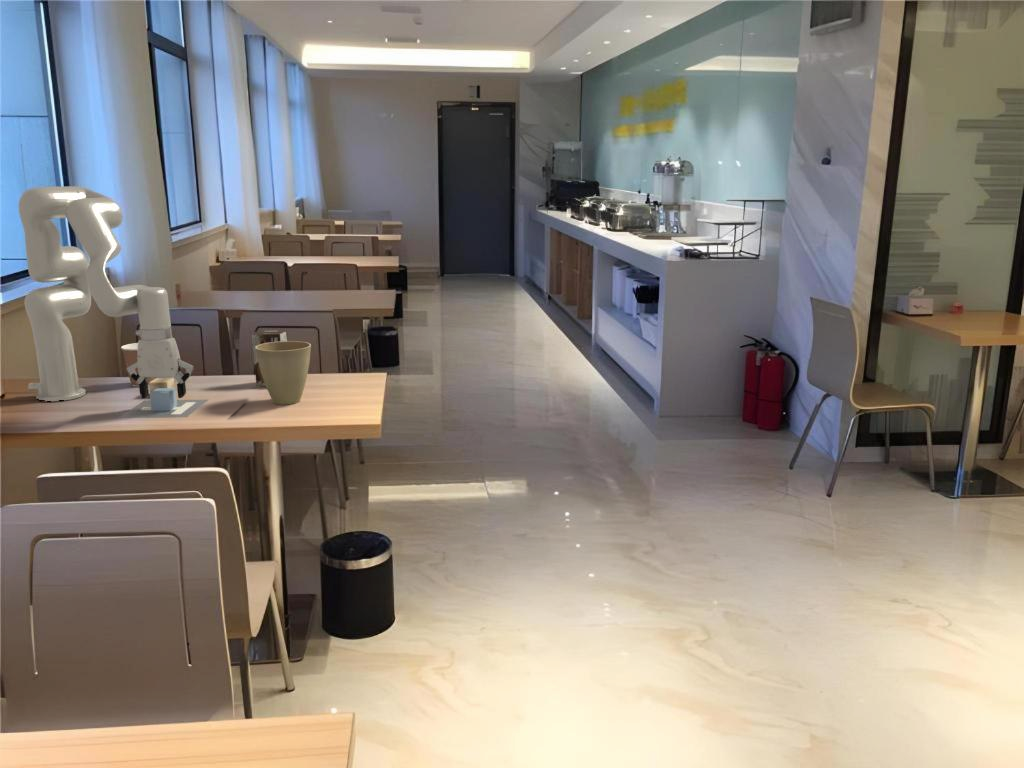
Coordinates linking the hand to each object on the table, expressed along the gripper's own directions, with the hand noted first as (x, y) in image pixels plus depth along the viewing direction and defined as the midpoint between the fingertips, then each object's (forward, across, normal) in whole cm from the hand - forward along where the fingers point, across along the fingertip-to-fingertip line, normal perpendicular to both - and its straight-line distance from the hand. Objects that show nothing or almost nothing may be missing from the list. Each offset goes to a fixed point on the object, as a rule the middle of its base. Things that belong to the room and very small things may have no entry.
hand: (163, 397), depth 224 cm
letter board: (+4, 0, 0) cm, 4 cm away
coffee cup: (+4, -18, +31) cm, 36 cm away
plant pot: (+4, +31, +8) cm, 32 cm away
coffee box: (+4, +22, +29) cm, 37 cm away
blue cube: (+3, 0, 0) cm, 3 cm away
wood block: (+4, -6, +15) cm, 17 cm away
